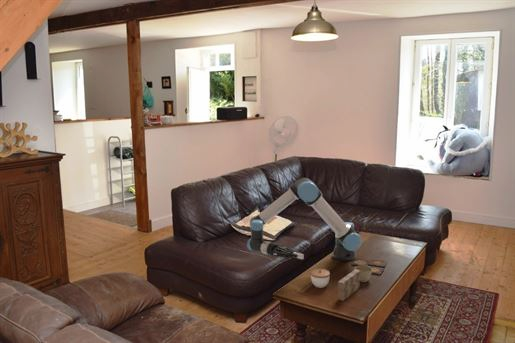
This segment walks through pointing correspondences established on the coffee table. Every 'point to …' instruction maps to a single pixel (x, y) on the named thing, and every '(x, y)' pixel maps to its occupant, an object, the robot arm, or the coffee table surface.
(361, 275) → the flower pot
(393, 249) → the coffee table surface
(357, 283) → the grey brown rectangular panel
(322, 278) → the lidded jar
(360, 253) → the coffee table surface
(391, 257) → the coffee table surface
